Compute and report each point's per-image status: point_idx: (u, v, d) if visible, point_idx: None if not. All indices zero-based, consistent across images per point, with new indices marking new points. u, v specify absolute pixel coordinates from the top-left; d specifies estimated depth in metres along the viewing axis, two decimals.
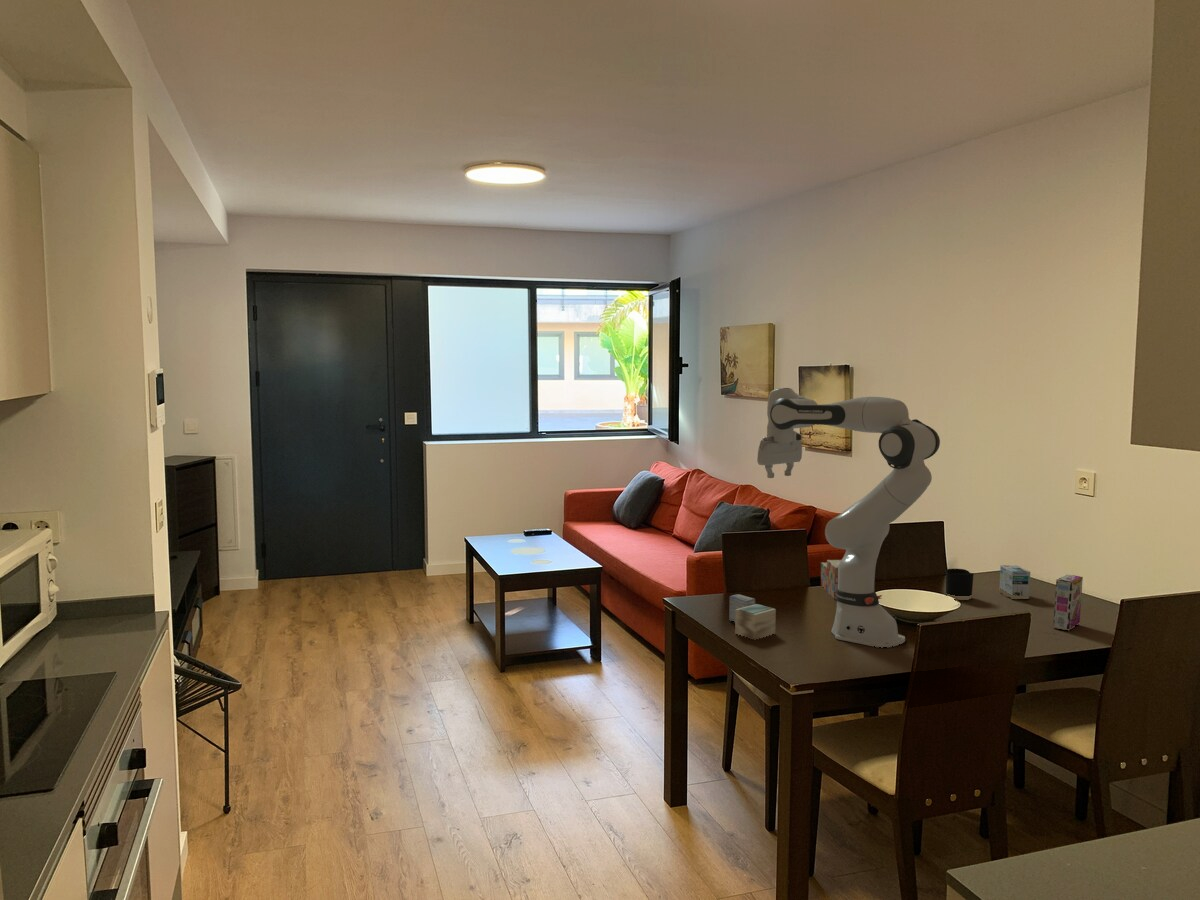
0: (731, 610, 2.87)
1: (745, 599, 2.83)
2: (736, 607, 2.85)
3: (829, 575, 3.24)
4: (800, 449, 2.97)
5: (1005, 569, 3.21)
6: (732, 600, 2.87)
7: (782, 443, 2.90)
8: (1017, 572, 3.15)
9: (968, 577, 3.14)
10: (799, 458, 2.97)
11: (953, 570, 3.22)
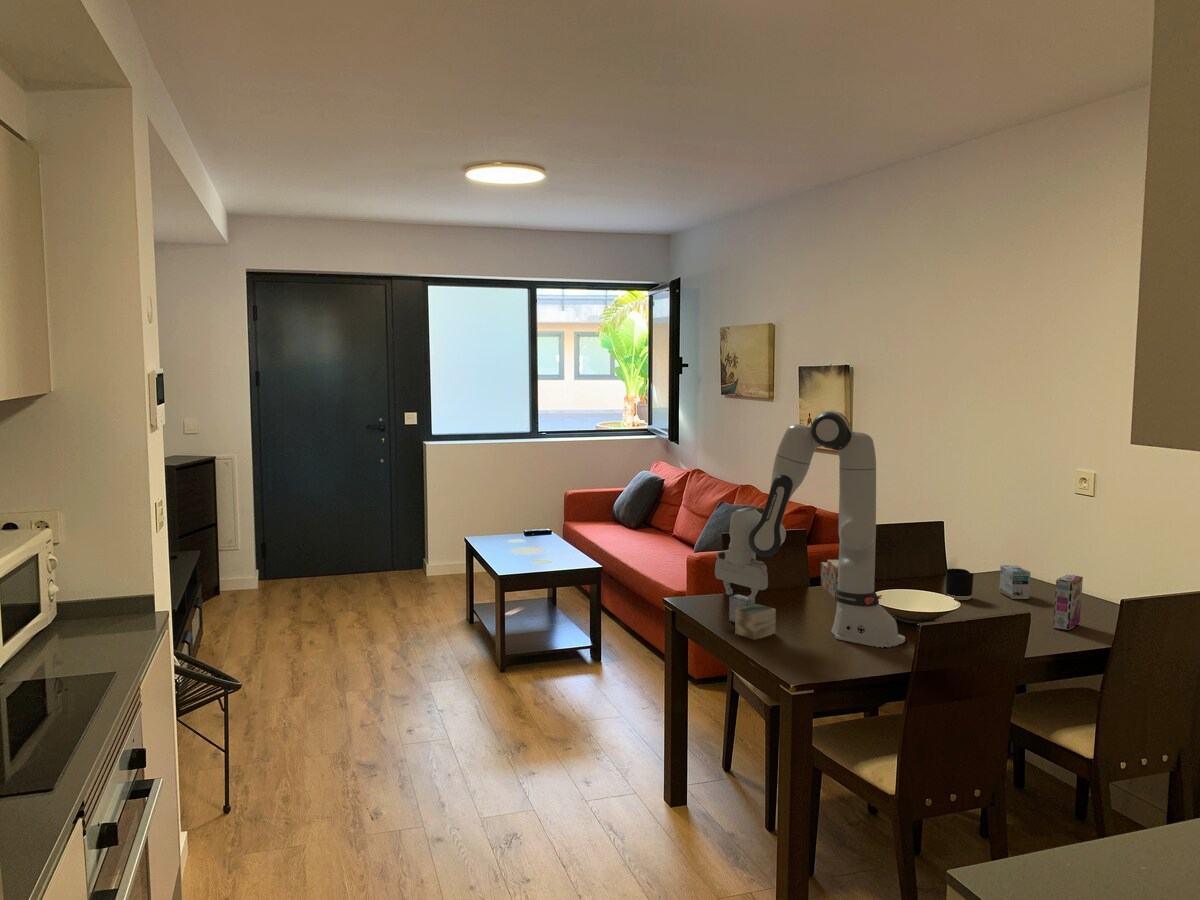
0: (731, 610, 2.87)
1: (745, 599, 2.83)
2: (736, 607, 2.85)
3: (830, 575, 3.24)
4: None
5: (1005, 569, 3.21)
6: (732, 600, 2.87)
7: None
8: (1017, 572, 3.16)
9: (968, 577, 3.14)
10: None
11: (953, 570, 3.22)
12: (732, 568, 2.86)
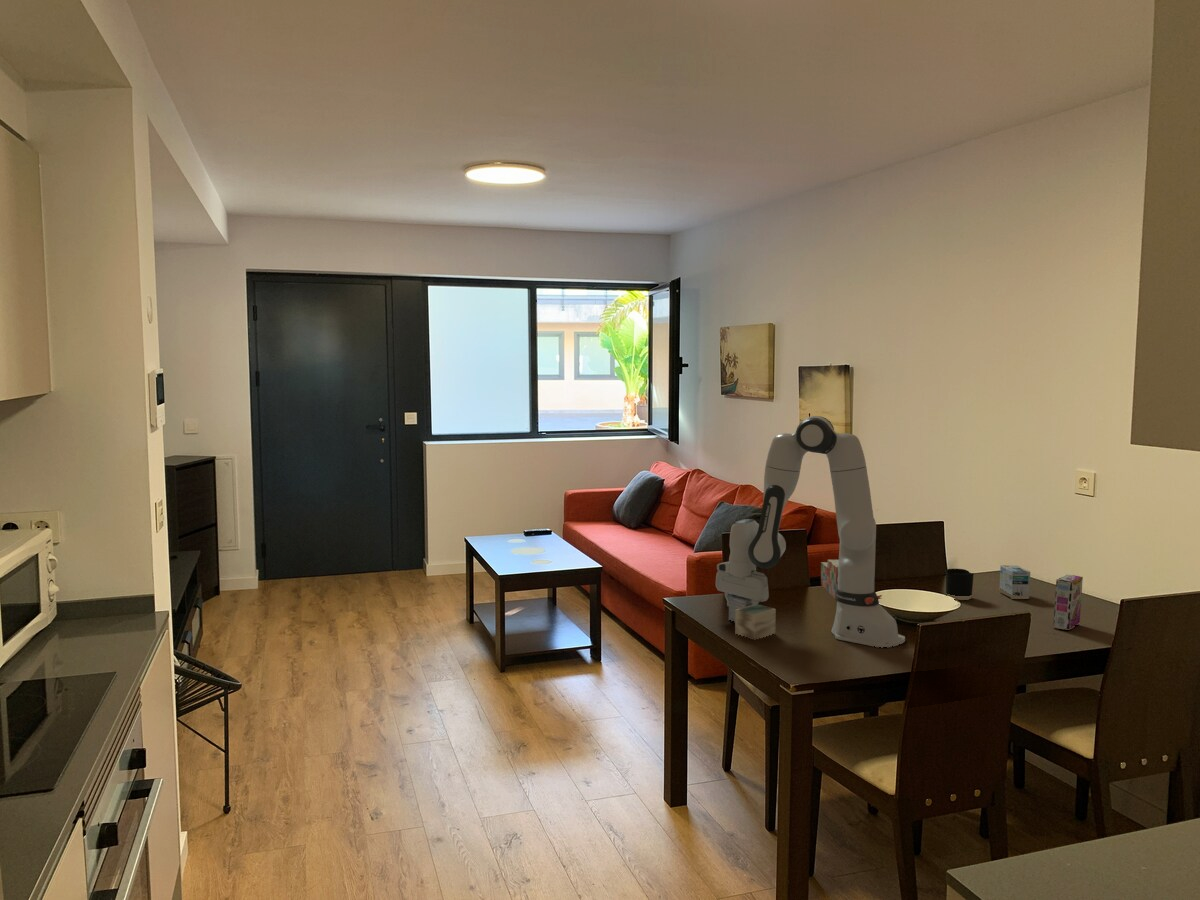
0: (730, 609, 2.88)
1: (744, 599, 2.84)
2: (735, 607, 2.86)
3: (830, 575, 3.24)
4: None
5: (1005, 569, 3.21)
6: (731, 600, 2.87)
7: None
8: (1017, 572, 3.16)
9: (968, 577, 3.14)
10: None
11: (953, 570, 3.22)
12: (733, 580, 2.87)
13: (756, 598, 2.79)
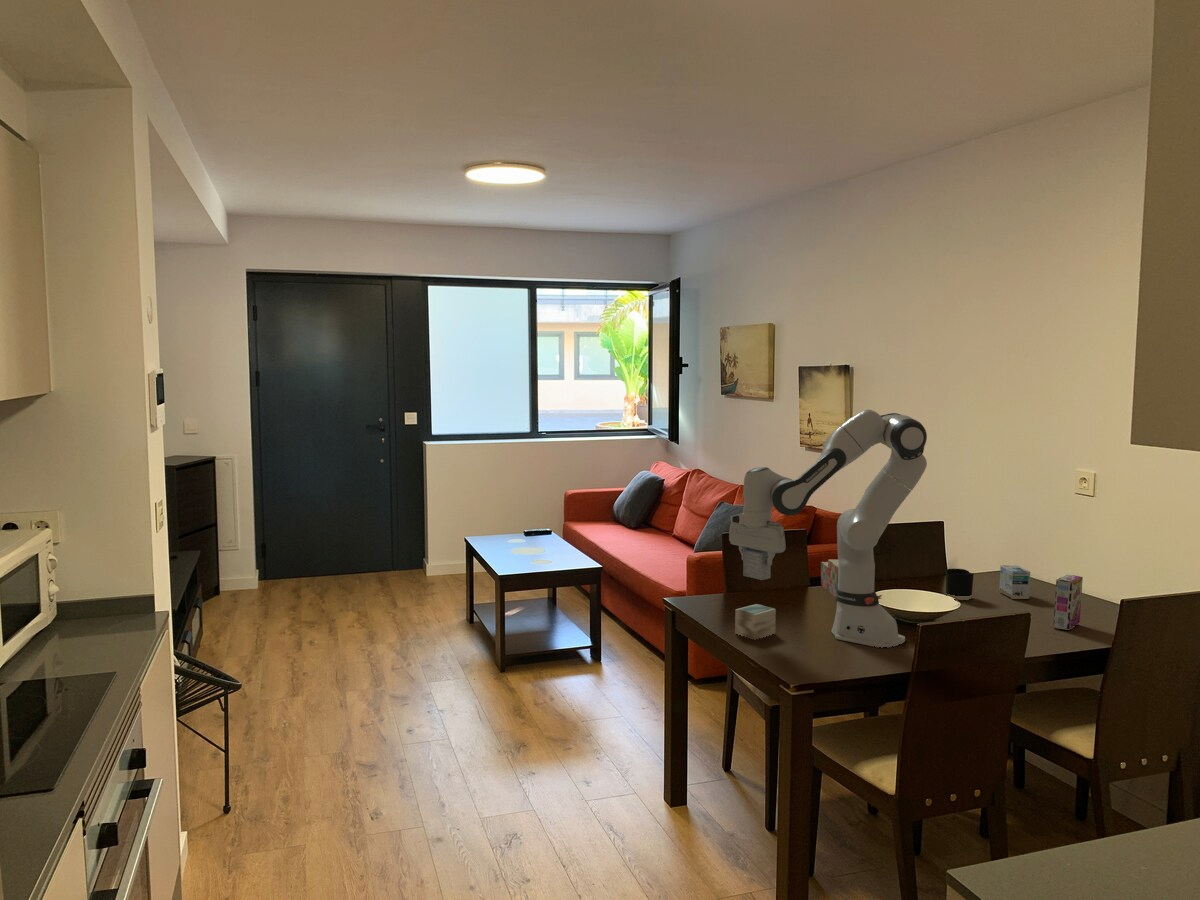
0: (745, 564, 2.74)
1: (760, 552, 2.70)
2: (750, 561, 2.72)
3: (831, 574, 3.25)
4: None
5: (1005, 569, 3.21)
6: (746, 553, 2.73)
7: None
8: (1017, 572, 3.16)
9: (968, 577, 3.14)
10: None
11: (953, 570, 3.22)
12: (747, 532, 2.73)
13: (772, 549, 2.65)
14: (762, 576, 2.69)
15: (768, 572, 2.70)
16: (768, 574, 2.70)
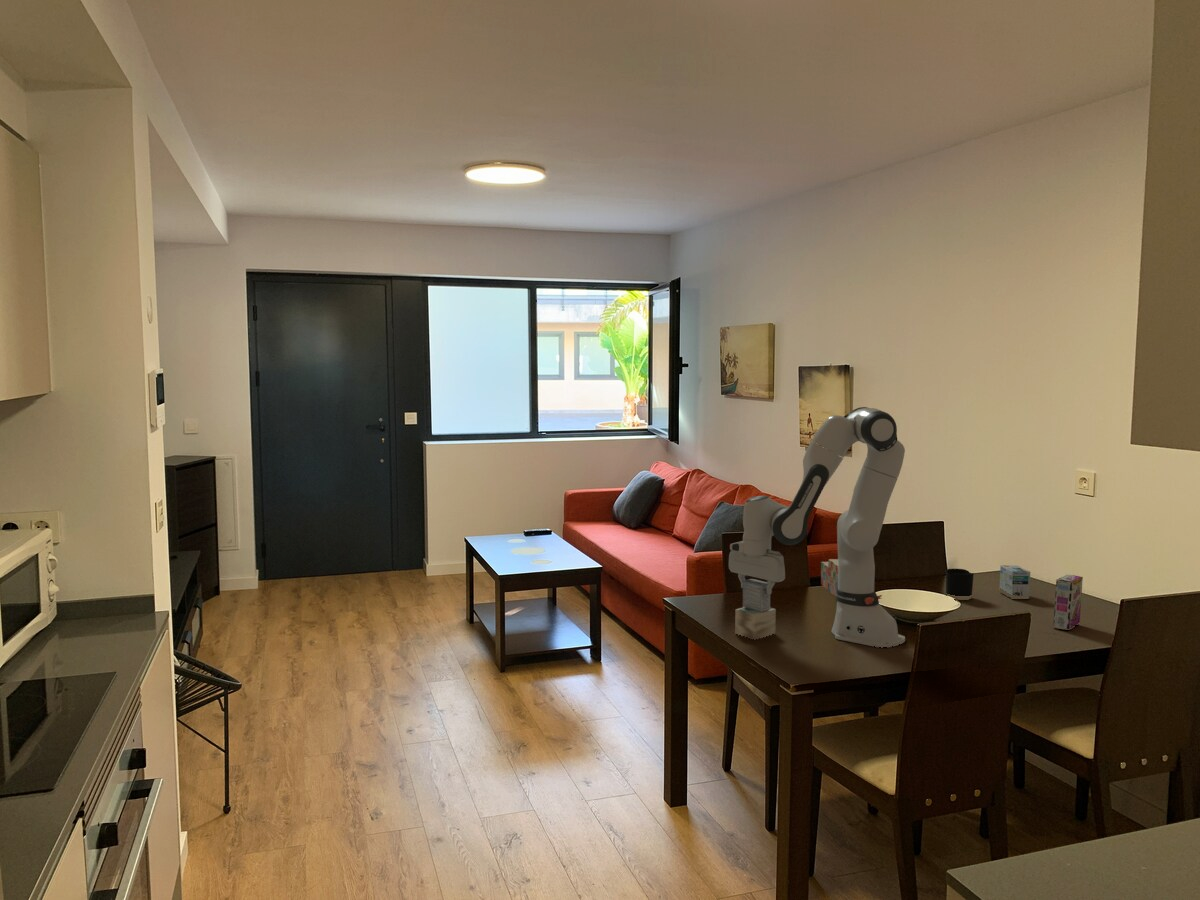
0: (745, 595, 2.74)
1: (760, 583, 2.70)
2: (750, 592, 2.72)
3: (831, 574, 3.25)
4: None
5: (1005, 569, 3.21)
6: (746, 585, 2.73)
7: None
8: (1017, 572, 3.16)
9: (968, 577, 3.14)
10: None
11: (953, 570, 3.22)
12: (747, 560, 2.73)
13: (772, 578, 2.65)
14: (762, 608, 2.69)
15: (768, 604, 2.71)
16: (767, 605, 2.71)
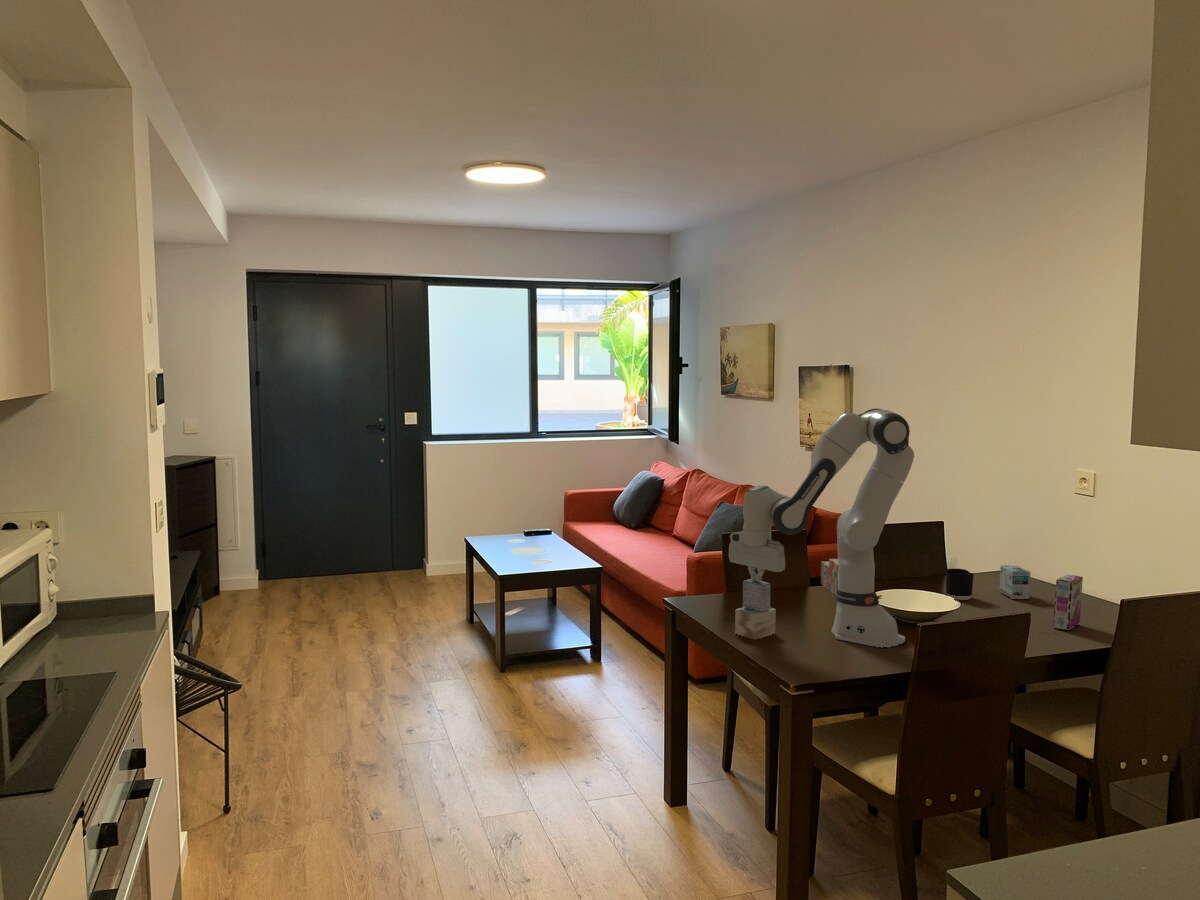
0: (744, 595, 2.74)
1: (760, 583, 2.70)
2: (750, 592, 2.72)
3: (832, 574, 3.25)
4: None
5: (1005, 569, 3.21)
6: (746, 585, 2.73)
7: None
8: (1017, 572, 3.16)
9: (968, 577, 3.14)
10: None
11: (953, 570, 3.22)
12: (747, 550, 2.73)
13: (772, 568, 2.65)
14: (762, 608, 2.69)
15: (768, 604, 2.71)
16: (767, 605, 2.71)
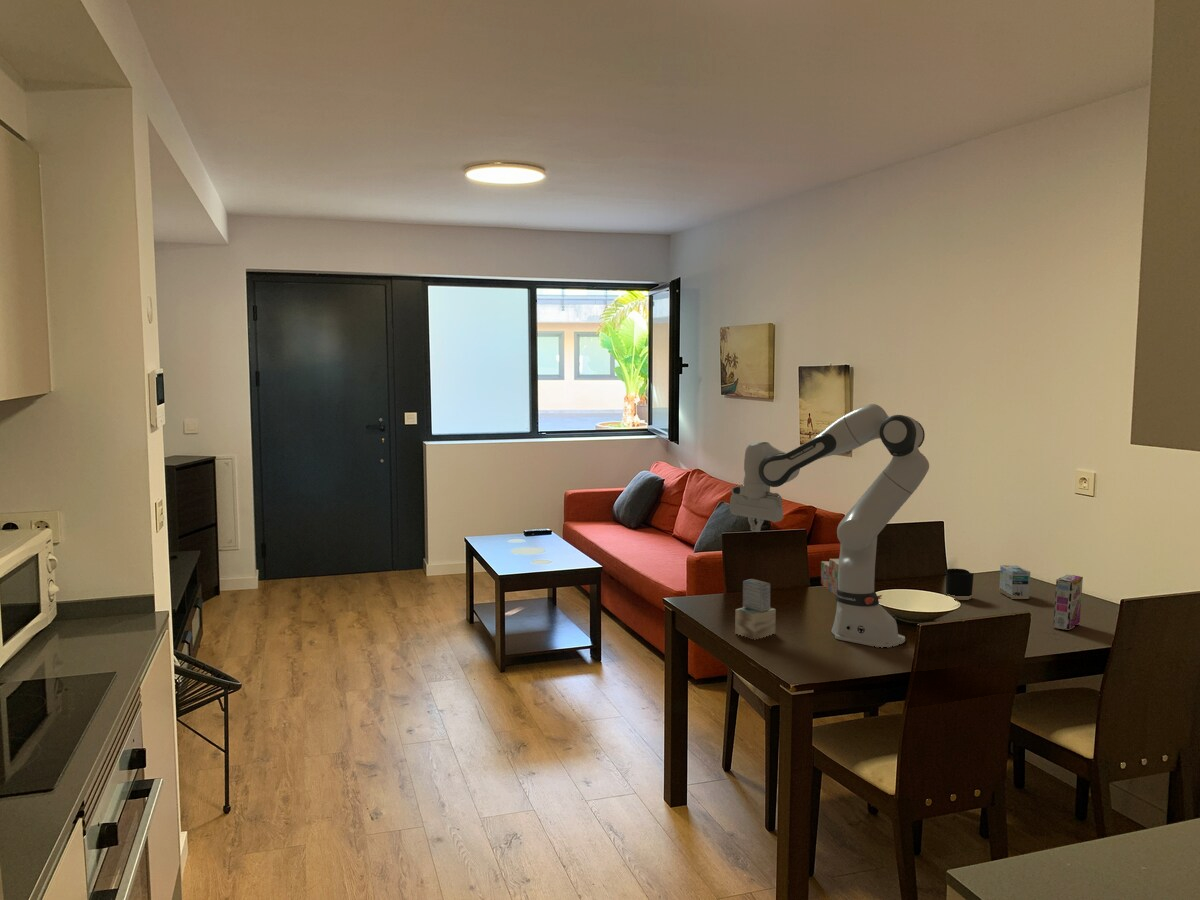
0: (744, 595, 2.74)
1: (760, 583, 2.70)
2: (750, 592, 2.72)
3: (833, 574, 3.26)
4: None
5: (1005, 569, 3.21)
6: (746, 585, 2.73)
7: None
8: (1017, 572, 3.16)
9: (968, 577, 3.14)
10: None
11: (953, 570, 3.22)
12: (747, 502, 2.91)
13: (771, 518, 2.84)
14: (762, 608, 2.69)
15: (768, 604, 2.71)
16: (767, 605, 2.71)
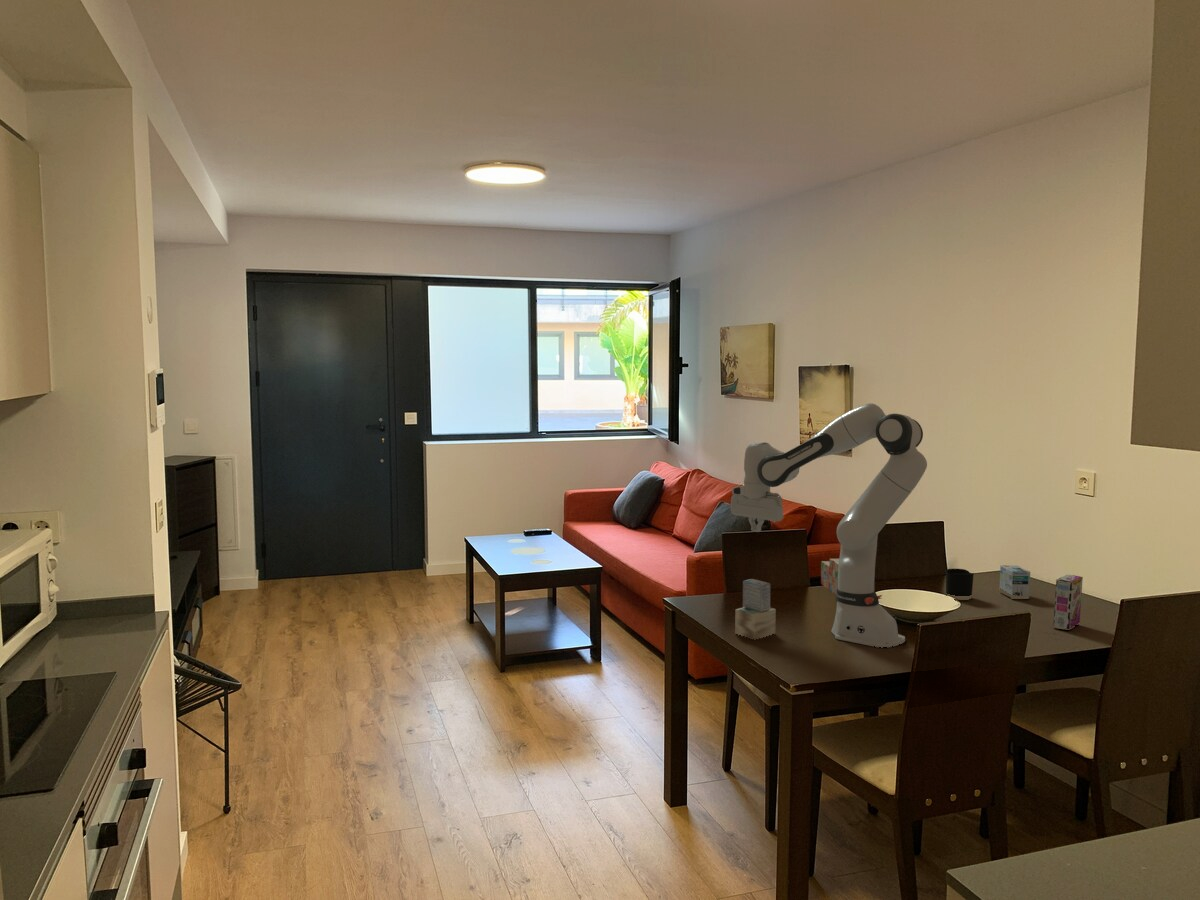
0: (744, 595, 2.74)
1: (760, 583, 2.70)
2: (750, 592, 2.72)
3: (833, 574, 3.26)
4: None
5: (1005, 569, 3.21)
6: (746, 585, 2.73)
7: None
8: (1017, 572, 3.16)
9: (968, 577, 3.14)
10: None
11: (953, 570, 3.22)
12: (747, 502, 2.93)
13: (771, 518, 2.85)
14: (762, 608, 2.69)
15: (768, 604, 2.71)
16: (767, 605, 2.71)
